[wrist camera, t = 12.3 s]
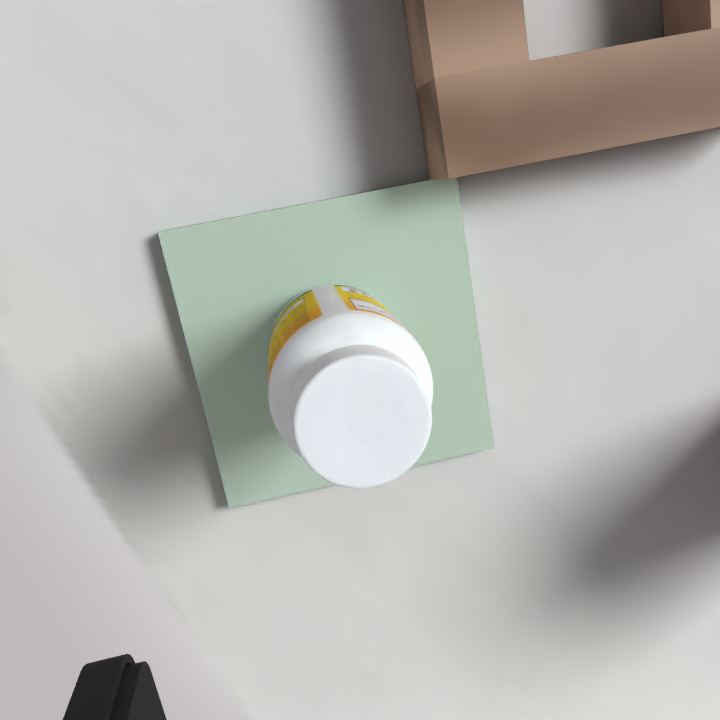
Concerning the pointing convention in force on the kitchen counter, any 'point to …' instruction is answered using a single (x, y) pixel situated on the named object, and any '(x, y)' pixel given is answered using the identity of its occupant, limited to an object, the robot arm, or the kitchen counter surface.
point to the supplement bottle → (348, 386)
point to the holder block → (553, 86)
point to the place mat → (311, 269)
